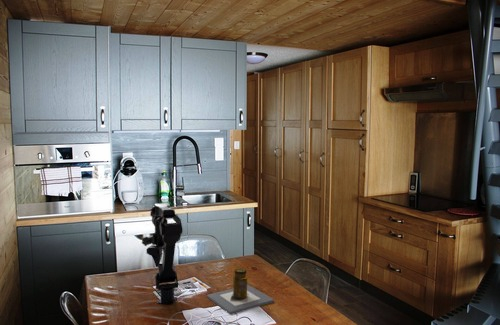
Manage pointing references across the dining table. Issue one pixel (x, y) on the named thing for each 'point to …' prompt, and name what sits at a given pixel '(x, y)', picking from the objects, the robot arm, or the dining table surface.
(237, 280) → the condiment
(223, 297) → the grey square board
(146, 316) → the dining table surface
